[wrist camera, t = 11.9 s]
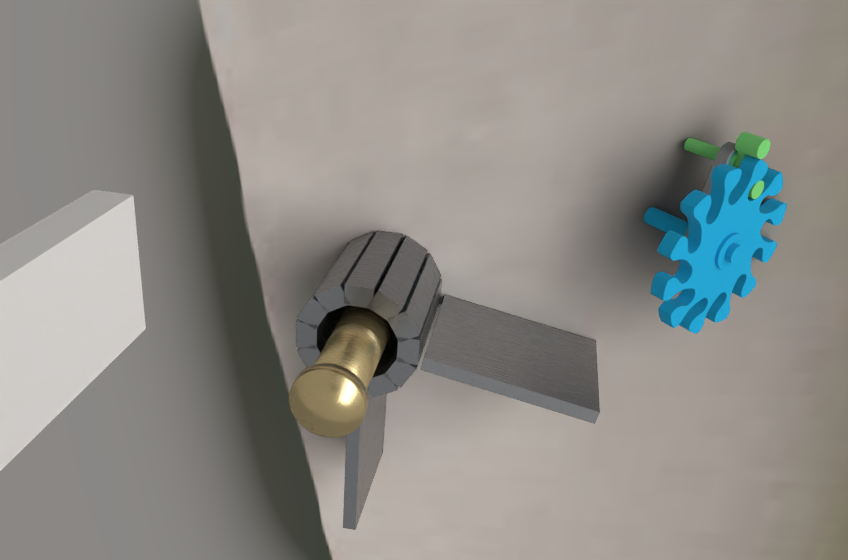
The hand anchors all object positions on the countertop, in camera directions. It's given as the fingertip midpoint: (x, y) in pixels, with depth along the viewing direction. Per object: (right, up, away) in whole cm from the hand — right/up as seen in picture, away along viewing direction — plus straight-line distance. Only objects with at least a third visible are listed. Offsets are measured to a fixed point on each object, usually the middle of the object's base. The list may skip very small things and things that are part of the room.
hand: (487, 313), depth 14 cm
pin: (-3, 0, +37) cm, 37 cm away
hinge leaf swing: (+5, -2, +37) cm, 37 cm away
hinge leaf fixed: (-4, -4, +39) cm, 40 cm away
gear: (+16, +5, +32) cm, 36 cm away
